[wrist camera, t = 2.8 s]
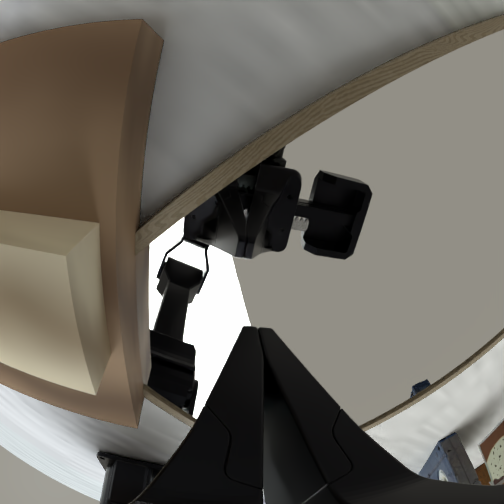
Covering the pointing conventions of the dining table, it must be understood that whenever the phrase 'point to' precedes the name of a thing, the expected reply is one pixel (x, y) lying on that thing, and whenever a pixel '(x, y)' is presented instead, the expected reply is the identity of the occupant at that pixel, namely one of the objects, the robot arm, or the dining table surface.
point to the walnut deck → (83, 175)
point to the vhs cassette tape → (450, 463)
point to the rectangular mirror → (343, 239)
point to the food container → (494, 454)
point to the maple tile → (53, 300)
